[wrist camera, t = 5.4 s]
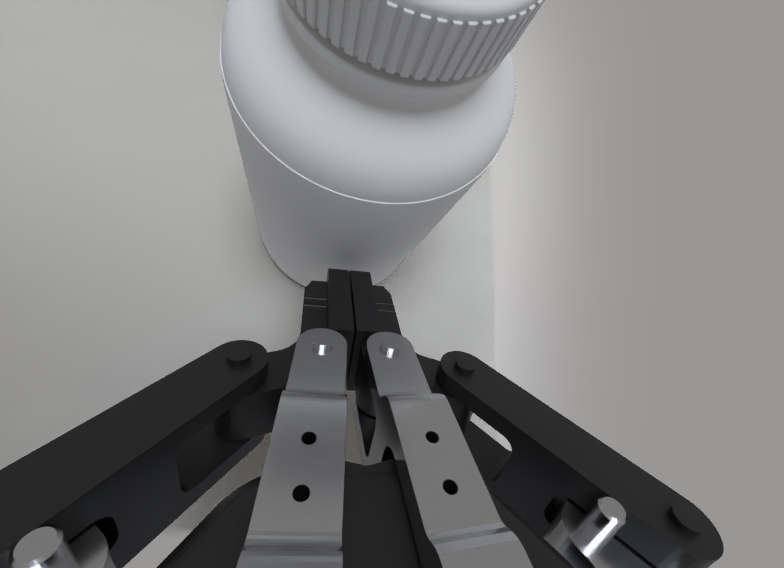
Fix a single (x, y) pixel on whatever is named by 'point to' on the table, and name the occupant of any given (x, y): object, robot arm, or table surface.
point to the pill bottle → (365, 119)
